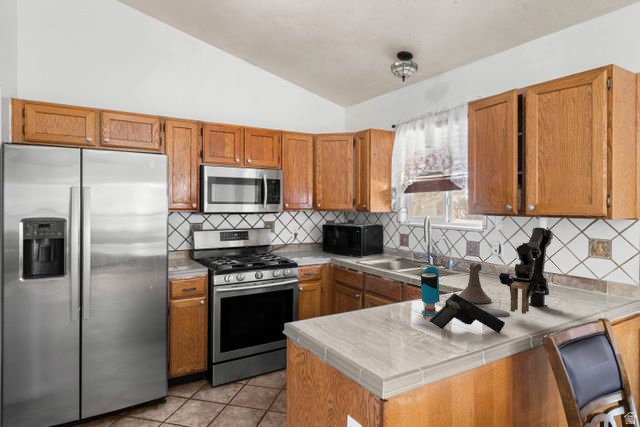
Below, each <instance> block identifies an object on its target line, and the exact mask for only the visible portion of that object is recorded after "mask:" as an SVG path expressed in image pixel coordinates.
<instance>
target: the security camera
mask: <svg viewBox="0 0 640 427" xmlns="http://www.w3.org/2000/svg"><path fill="white" fill-rule="evenodd" d="M439 272H440V271H439V268H438V267H435V266H427V267H426V268H425V270H424V271H423V272H422V273H421V274H420V289H421V292H420V293H421V301H422V303H425V306H424V309H422V310H421V314H423V315H427V316H434V315H435V314H436V313H437V312H438V311H439V310H438V311H437V308H436V304H437V303H440V300H441V297H440V280H439V279H440V274H439Z"/></svg>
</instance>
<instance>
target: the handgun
mask: <svg viewBox="0 0 640 427" xmlns="http://www.w3.org/2000/svg"><path fill="white" fill-rule="evenodd" d="M444 303H445V305H444V306H443V307H441V309H439V310H438V312H437V313H436V314H435V315H432V317H430V318H429V323H431V324H433V325H434V326H436V327H437V328H440V329H441V330H442V329H444V328H445V327H446V326H447V325H448V324H450V322H451V321H453V319H456V320H458V321H460V322H461V323H463V324H465V325H473V323H474V322H475V321H476V322H477V321H478V322H479V323H481V324H482V325H484V326H485V327H488V328H489V329H491V330H493V331H494V332H496V333H497V334H499V333H501V331H502V329H503V328H504V326H505V325H506V322H505V321H503V320H502V319H500V318H499V317H496V316H493V315H491V314H490V313H488V312H486V311H485V309H482V308H481V307H479V306H478V305H477V304H473V303H471V302H469V301H467V300H466V299H464V298H462V297H460V296H459V294H457V293H455V292H454V293H453V294H452V295H450V296H449V297H448V298H447V299H446V300H445V302H444Z"/></svg>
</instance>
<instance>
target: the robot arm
mask: <svg viewBox="0 0 640 427" xmlns="http://www.w3.org/2000/svg"><path fill="white" fill-rule="evenodd" d="M553 238H554V234H553V231H552V230H550V229H547V228H544V227H537V226H536V227H533V229H532V234H531V235H530V237H529V240H528V241H527V242H522V244H520V245H518V246H517V247H516V249H515V251H516V255H517V257H518V260H519V261H520V262H519V263H515V264H514V274H515V276H516V277H515V276H513V275H511V274H510V273H508V272H500V273H499V275H498V278H499V281H500V284H502V285H505V286H507V287H509V291H510V295H511V284H512V283H514V282H518V283H526V284H529V289H528V292H527V296H526V298H527V299H528V298H529V306H533V307H537V308H546V307H548V304H545V302H546V300H545V297H546V296H549V295H550V289H549V283H548V279H547V278H546V277H545V276H544V273H545V264H546V255H547V249H548V247H549V246H550V245H551V243H552V240H553Z"/></svg>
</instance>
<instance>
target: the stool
mask: <svg viewBox="0 0 640 427" xmlns="http://www.w3.org/2000/svg"><path fill="white" fill-rule="evenodd" d="M528 289H529V284H526V283H518V282H514V283H512V284H511V294H510V311H509V312H513V313H515V312H516V311H518V308H519V305H518V304H519V290H521V314H524V315H526V314H527V313H529V311H530V310H529V308H530V307H529V306H530V305H529V303H530V297H529V298H528V299H527V298H526V296H527V292H528Z"/></svg>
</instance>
